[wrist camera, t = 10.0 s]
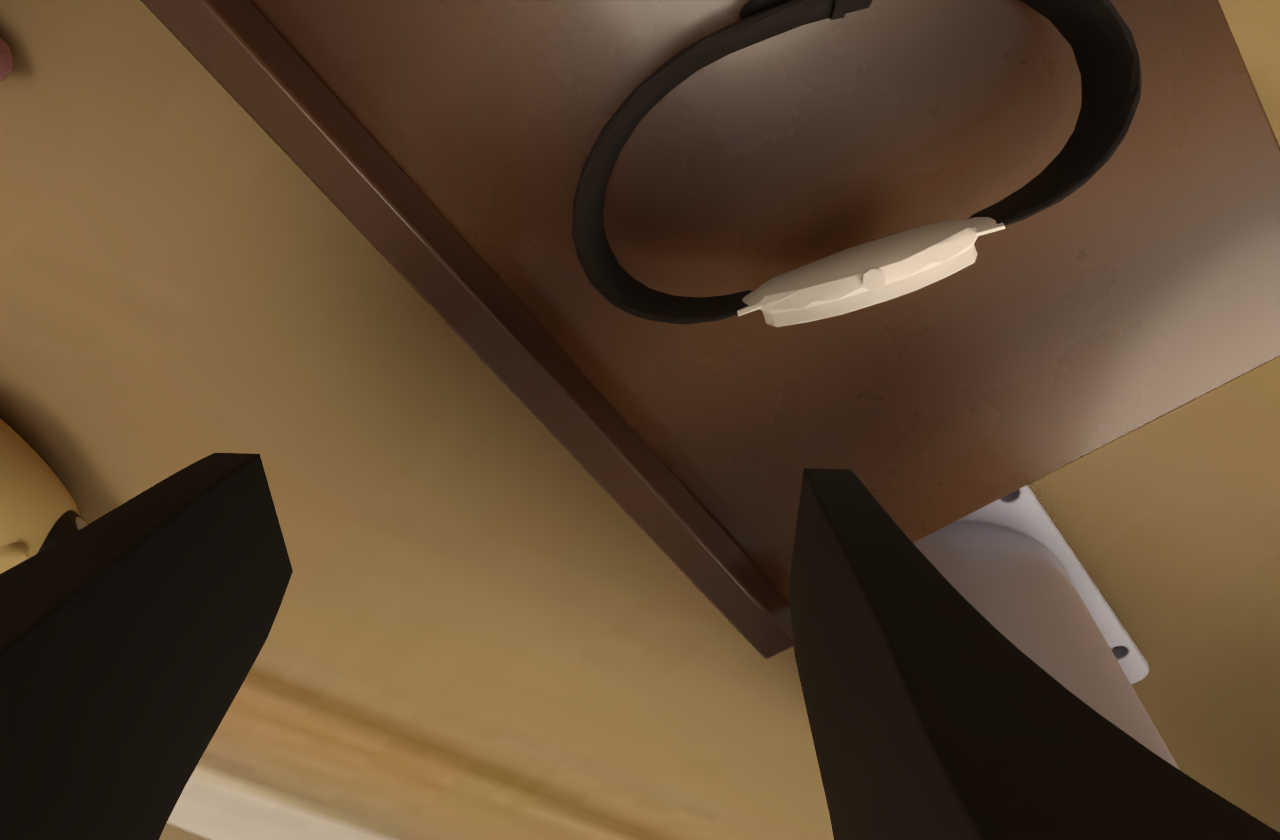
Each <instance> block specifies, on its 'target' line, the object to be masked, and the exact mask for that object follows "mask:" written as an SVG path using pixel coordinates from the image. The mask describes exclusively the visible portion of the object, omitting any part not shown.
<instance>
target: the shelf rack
mask: <svg viewBox="0 0 1280 840" xmlns="http://www.w3.org/2000/svg"><path fill="white" fill-rule="evenodd" d="M141 1H142V2H143V3H144V4H145V5H146V6H147V7H148V9H149V10H150V11H151V12H152V13H153V14H154V15H155V16H156V17H157V18H158V19H159V20H160V21H161V22H162V23H163V24H164V25H165V26H166V28H167V29H168V30H169V31H170V32H171V33H172V34H173V35H174V36H175V37H176V38H177V39H178V40H179V41H180V42H181V43H182V44H183V45H184V47H185V48H186V49H187V50H188V51H189V52H190V53H191V54H192V55H193V56H194V57H195V58H196V59H197V60H198V61H199V62H200V63H201V64H202V66H203V67H204V68H205V69H206V70H207V71H208V72H209V73H210V74H211V75H212V76H213V77H214V78H215V79H216V80H217V81H218V82H219V83H220V85H221V86H222V87H223V88H224V89H225V90H226V91H227V92H228V93H229V94H230V95H231V96H232V97H233V98H234V99H235V100H236V101H237V102H238V104H239V105H240V106H241V107H242V108H243V109H244V110H245V111H246V112H247V113H248V114H249V115H250V116H251V117H252V118H253V119H254V120H255V121H256V123H257V124H258V125H259V126H260V127H261V128H262V129H263V130H264V131H265V132H266V133H267V134H268V135H269V136H270V137H271V138H272V139H273V140H274V142H275V143H276V144H277V145H278V146H279V147H280V148H281V149H282V150H283V151H284V152H285V153H286V154H287V155H288V156H289V157H290V158H291V159H292V161H293V162H294V163H295V164H296V165H297V166H298V167H299V168H300V169H301V170H302V171H303V172H304V173H305V174H306V175H307V176H308V177H309V178H310V180H311V181H312V182H313V183H314V184H315V185H316V186H317V187H318V188H319V189H320V190H321V191H322V192H323V193H324V194H325V195H326V196H327V197H328V198H329V200H330V201H331V202H332V203H333V204H334V205H335V206H336V207H337V208H338V209H339V210H340V211H341V212H342V213H343V214H344V215H345V216H346V217H347V219H348V220H349V221H350V222H351V223H352V224H353V225H354V226H355V227H356V228H357V229H358V230H359V231H360V232H361V233H362V234H363V235H364V236H365V238H366V239H367V240H368V241H369V242H370V243H371V244H372V245H373V246H374V247H375V248H376V249H377V250H378V251H379V252H380V253H381V254H382V255H383V257H384V258H385V259H386V260H387V261H388V262H389V263H390V264H391V265H392V266H393V267H394V268H395V269H396V270H397V271H398V272H399V273H400V274H401V276H402V277H403V278H404V279H405V280H406V281H407V282H408V283H409V284H410V285H411V286H412V287H413V288H414V289H415V290H416V291H417V292H418V293H419V295H420V296H421V297H422V298H423V299H424V300H425V301H426V302H427V303H428V304H429V305H430V306H431V307H432V308H433V309H434V310H435V311H436V312H437V314H438V315H439V316H440V317H441V318H442V319H443V320H444V321H445V322H446V323H447V324H448V325H449V326H450V327H451V328H452V329H453V330H454V331H455V333H456V334H457V335H458V336H459V337H460V338H461V339H462V340H463V341H464V342H465V343H466V344H467V345H468V346H469V347H470V348H471V349H472V350H473V352H474V353H475V354H476V355H477V356H478V357H479V358H480V359H481V360H482V361H483V362H484V363H485V364H486V365H487V366H488V367H489V368H490V369H491V371H492V372H493V373H494V374H495V375H496V376H497V377H498V378H499V379H500V380H501V381H502V382H503V383H504V384H505V385H506V386H507V387H508V388H509V390H510V391H511V392H512V393H513V394H514V395H515V396H516V397H517V398H518V399H519V400H520V401H521V402H522V403H523V404H524V405H525V406H526V407H527V408H528V410H529V411H530V412H531V413H532V414H533V415H534V416H535V417H536V418H537V419H538V420H539V421H540V422H541V423H542V424H543V425H544V426H545V427H546V429H547V430H548V431H549V432H550V433H551V434H552V435H553V436H554V437H555V438H556V439H557V440H558V441H559V442H560V443H561V444H562V445H563V446H564V448H565V449H566V450H567V451H568V452H569V453H570V454H571V455H572V456H573V457H574V458H575V459H576V460H577V461H578V462H579V463H580V464H581V465H582V467H583V468H584V469H585V470H586V471H587V472H588V473H589V474H590V475H591V476H592V477H593V478H594V479H595V480H596V481H597V482H598V483H599V484H600V486H601V487H602V488H603V489H604V490H605V491H606V492H607V493H608V494H609V495H610V496H611V497H612V498H613V499H614V500H615V501H616V502H617V503H618V505H619V506H620V507H621V508H622V509H623V510H624V511H625V512H626V513H627V514H628V515H629V516H630V517H631V518H632V519H633V520H634V521H635V522H636V524H637V525H638V526H639V527H640V528H641V529H642V530H643V531H644V532H645V533H646V534H647V535H648V536H649V537H650V538H651V539H652V540H653V541H654V543H655V544H656V545H657V546H658V547H659V548H660V549H661V550H662V551H663V552H664V553H665V554H666V555H667V556H668V557H669V558H670V559H671V560H672V562H673V563H674V564H675V565H676V566H677V567H678V568H679V569H680V570H681V571H682V572H683V573H684V574H685V575H686V576H687V577H688V578H689V579H690V581H691V582H692V583H693V584H694V585H695V586H696V587H697V588H698V589H699V590H700V591H701V592H702V593H703V594H704V595H705V596H706V597H707V598H708V600H709V601H710V602H711V603H712V604H713V605H714V606H715V607H716V608H717V609H718V610H719V611H720V612H721V613H722V614H723V615H724V616H725V617H726V618H727V620H728V621H729V622H730V623H731V624H732V625H733V626H734V627H735V628H736V629H737V630H738V631H739V632H740V633H741V634H742V635H743V636H744V637H745V639H746V640H747V641H748V642H749V643H750V644H751V645H752V646H753V647H754V648H755V649H756V650H757V651H758V652H759V653H760V654H761V655H762V656H763V658H765V659H769V658H771V657H773V656H775V655H777V654H779V653H781V652H783V651H785V650H787V649H789V648H791V647H793V646H794V641H793V631H792V621H791V610H790V598H789V587H788V586H789V578H790V570H791V563H792V555H793V547H794V539H795V532H796V524H797V516H798V508H799V501H800V493H801V485H802V477H803V470H804V468H816V469H851V470H852V471H853V472H854V473H855V474H856V476H857V477H858V478H859V479H860V480H861V481H862V483H863V484H864V485H865V486H866V487H867V489H868V490H869V491H870V492H871V493H872V495H873V496H874V497H875V498H876V500H877V501H878V502H879V503H880V504H881V506H882V507H883V508H884V509H885V510H886V512H887V513H888V514H889V515H890V516H891V518H892V519H893V520H894V521H895V522H896V524H897V525H898V526H899V527H900V528H901V529H902V531H903V532H904V533H905V534H906V535H907V536H908V538H909V539H910V540H911V541H912V542H913V543H914V542H916V541H918V540H920V539H922V538H924V537H926V536H928V535H930V534H932V533H934V532H936V531H938V530H940V529H942V528H944V527H945V526H947V525H949V524H951V523H953V522H955V521H957V520H959V519H961V518H963V517H965V516H967V515H969V514H971V513H973V512H975V511H977V510H979V509H981V508H983V507H985V506H987V505H989V504H991V503H993V502H995V501H996V500H998V499H1000V498H1002V497H1004V496H1006V495H1008V494H1010V493H1012V492H1014V491H1016V490H1018V489H1020V488H1022V487H1024V486H1026V485H1028V484H1030V483H1032V482H1034V481H1036V480H1038V479H1040V478H1042V477H1044V476H1046V475H1047V474H1049V473H1051V472H1053V471H1055V470H1057V469H1059V468H1061V467H1063V466H1065V465H1067V464H1069V463H1071V462H1073V461H1075V460H1077V459H1079V458H1081V457H1083V456H1085V455H1087V454H1089V453H1091V452H1093V451H1095V450H1096V449H1098V448H1100V447H1102V446H1104V445H1106V444H1108V443H1110V442H1112V441H1114V440H1116V439H1118V438H1120V437H1122V436H1124V435H1126V434H1128V433H1130V432H1132V431H1134V430H1136V429H1138V428H1140V427H1142V426H1144V425H1146V424H1147V423H1149V422H1151V421H1153V420H1155V419H1157V418H1159V417H1161V416H1163V415H1165V414H1167V413H1169V412H1171V411H1173V410H1175V409H1177V408H1179V407H1181V406H1183V405H1185V404H1187V403H1189V402H1191V401H1193V400H1195V399H1197V398H1198V397H1200V396H1202V395H1204V394H1206V393H1208V392H1210V391H1212V390H1214V389H1216V388H1218V387H1220V386H1222V385H1224V384H1226V383H1228V382H1230V381H1232V380H1234V379H1236V378H1238V377H1240V376H1242V375H1244V374H1246V373H1248V372H1249V371H1251V370H1253V369H1255V368H1257V367H1259V366H1261V365H1263V364H1265V363H1267V362H1269V361H1271V360H1273V359H1275V358H1277V357H1279V356H1280V147H1279V144H1278V142H1277V139H1276V137H1275V135H1274V132H1273V130H1272V128H1271V125H1270V123H1269V120H1268V118H1267V116H1266V113H1265V111H1264V109H1263V106H1262V104H1261V101H1260V99H1259V97H1258V94H1257V92H1256V89H1255V87H1254V85H1253V82H1252V80H1251V78H1250V75H1249V73H1248V70H1247V68H1246V66H1245V63H1244V61H1243V59H1242V56H1241V54H1240V51H1239V49H1238V47H1237V44H1236V42H1235V40H1234V37H1233V35H1232V32H1231V30H1230V28H1229V25H1228V23H1227V21H1226V18H1225V16H1224V13H1223V11H1222V9H1221V6H1220V4H1219V2H1218V0H1109V1H1110V2H1111V3H1112V4H1113V5H1114V7H1115V8H1116V10H1117V11H1118V13H1119V14H1120V16H1121V17H1122V19H1123V20H1124V22H1125V23H1126V24H1127V26H1128V27H1129V29H1130V30H1131V32H1132V35H1133V38H1134V41H1135V44H1136V48H1137V51H1138V54H1139V59H1140V67H1141V76H1142V85H1141V98H1140V101H1139V104H1138V107H1137V110H1136V112H1135V115H1134V118H1133V120H1132V123H1131V125H1130V127H1129V130H1128V132H1127V134H1126V136H1125V138H1124V139H1123V141H1122V143H1121V144H1120V145H1119V147H1118V148H1117V150H1116V151H1115V152H1114V154H1113V155H1112V157H1111V158H1110V159H1109V161H1108V162H1107V163H1106V164H1105V165H1104V166H1103V167H1102V168H1101V169H1099V170H1098V171H1097V172H1096V173H1095V174H1094V175H1093V176H1092V177H1091V178H1090V179H1089V180H1088V181H1087V182H1086V183H1085V184H1084V185H1083V186H1081V187H1080V188H1079V189H1077V190H1076V191H1074V192H1073V193H1072V194H1070V195H1069V196H1067V197H1066V198H1065V199H1063V200H1062V201H1060V202H1059V203H1057V204H1055V205H1053V206H1051V207H1049V208H1046V209H1044V210H1042V211H1040V212H1038V213H1036V214H1034V215H1032V216H1030V217H1028V218H1026V219H1024V220H1021V221H1019V222H1016V223H1013V224H1011V225H1008V226H1005V228H1006V229H1003V230H999V231H996V232H992V233H988V234H985V235H981V236H978V238H977V239H976V241H975V243H974V246H975V249H976V251H977V254H978V255H977V257H976V260H975V263H973V264H971V265H969V266H967V267H965V268H964V269H962V270H960V271H958V272H956V273H954V274H952V275H950V276H948V277H946V278H944V279H941V280H939V281H937V282H935V283H932V284H930V285H928V286H925V287H923V288H921V289H918V290H916V291H914V292H911V293H908V294H905V295H902V296H899V297H897V298H894V299H891V300H888V301H885V302H882V303H878V304H875V305H872V306H868V307H865V308H862V309H859V310H855V311H852V312H849V313H846V314H842V315H838V316H834V317H829V318H825V319H820V320H815V321H811V322H806V323H800V324H794V325H788V326H782V327H775V326H772V325H769V324H766V321H765V318H764V315H763V312H762V311H761V310H759V309H758V310H755V311H753V312H750V313H747V314H744V315H741V316H738V315H736V316H732V317H729V318H726V319H722V320H719V321H714V322H704V323H694V324H684V325H681V324H673V323H665V322H656V321H651V320H647V319H643V318H640V317H636V316H633V315H631V314H629V313H627V312H625V311H623V310H621V309H620V308H618V307H616V306H614V305H612V304H611V303H610V302H609V301H608V300H607V299H605V298H604V297H603V296H602V295H601V294H600V293H599V292H598V291H597V290H596V289H595V288H594V287H593V286H592V284H591V283H590V282H589V280H588V278H587V276H586V274H585V273H584V271H583V269H582V267H581V265H580V263H579V261H578V257H577V253H576V249H575V245H574V241H573V237H572V218H573V199H574V196H575V193H576V189H577V186H578V182H579V179H580V175H581V172H582V168H583V165H584V163H585V161H586V159H587V157H588V155H589V153H590V152H591V150H592V148H593V146H594V144H595V142H596V140H597V138H598V137H599V135H600V133H601V131H602V129H603V127H604V126H605V125H606V124H607V122H608V121H609V120H610V119H611V117H612V116H613V115H614V114H615V112H616V111H617V110H618V109H619V108H620V106H621V105H622V104H623V103H624V101H625V100H626V99H627V98H628V96H629V95H630V94H631V93H632V91H633V90H635V89H636V88H637V87H638V86H639V85H640V84H641V83H643V82H644V81H645V80H646V79H647V78H648V77H650V76H651V75H652V74H653V73H654V72H655V71H656V70H658V69H659V68H660V67H661V66H662V65H663V64H665V63H666V62H667V61H668V60H669V59H670V58H672V57H673V56H674V55H676V54H677V53H679V52H681V51H682V50H684V49H686V48H687V47H689V46H691V45H692V44H694V43H696V42H697V41H699V40H700V39H702V38H704V37H706V36H708V35H710V34H712V33H714V32H716V31H718V30H720V29H722V28H724V27H726V26H729V25H731V24H733V23H735V22H737V21H739V20H741V18H740V16H739V13H740V11H741V10H742V8H743V6H744V4H745V3H747V2H749V1H750V0H141ZM1081 102H1082V91H1081V74H1080V71H1079V68H1078V65H1077V62H1076V59H1075V56H1074V53H1073V50H1072V47H1071V45H1070V44H1069V43H1068V42H1067V40H1066V39H1065V38H1064V37H1063V36H1062V34H1061V33H1060V32H1059V31H1058V30H1057V29H1056V27H1055V26H1054V25H1053V24H1052V23H1051V21H1050V20H1048V19H1047V18H1045V17H1044V16H1042V15H1041V14H1040V13H1038V12H1037V11H1035V10H1034V9H1032V8H1031V7H1029V6H1028V5H1026V4H1025V3H1023V2H1021V1H1019V0H872V2H871V4H870V6H869V8H865V9H861V10H858V11H854V12H850V13H847V14H845V16H844V18H840V19H834V20H831V19H830V18H828V19H824V20H820V21H817V22H813V23H809V24H805V25H802V26H799V27H797V28H794V29H792V30H789V31H787V32H784V33H782V34H779V35H776V36H774V37H771V38H769V39H766V40H764V41H761V42H759V43H756V44H754V45H751V46H748V47H746V48H743V49H741V50H738V51H736V52H733V53H731V54H729V55H727V56H725V57H723V58H721V59H719V60H717V61H715V62H713V63H711V64H709V65H708V66H706V67H704V68H702V69H700V70H698V71H696V72H695V73H694V74H692V75H691V76H690V77H688V78H687V79H686V80H684V81H683V82H682V83H680V84H679V85H678V86H676V87H675V88H674V89H673V90H671V91H670V92H669V93H668V94H667V95H666V96H665V97H664V98H662V99H661V100H660V101H659V102H658V103H657V104H656V105H655V106H654V107H653V108H652V109H651V110H650V111H649V112H648V113H647V114H646V115H645V117H644V118H643V119H642V120H641V121H640V122H639V124H638V125H637V127H636V128H635V130H634V131H633V133H632V134H631V136H630V137H629V139H628V140H627V142H626V143H625V145H624V146H623V148H622V150H621V151H620V153H619V156H618V158H617V161H616V163H615V166H614V168H613V171H612V173H611V176H610V178H609V181H608V184H607V191H606V197H605V203H604V210H603V215H604V228H605V233H606V237H607V240H608V242H609V245H610V247H611V250H612V252H613V254H614V255H615V257H616V259H617V261H618V262H619V264H620V265H621V266H622V267H623V268H624V269H625V270H626V271H627V272H628V273H629V274H630V275H631V276H632V277H633V278H634V279H636V280H637V281H639V282H641V283H642V284H644V285H645V286H647V287H649V288H650V289H653V290H657V291H660V292H664V293H667V294H670V295H674V296H686V297H711V296H723V295H728V294H733V293H738V292H742V291H747V290H750V291H752V292H754V291H755V290H756V289H757V288H759V287H760V286H761V285H762V284H763V283H765V282H767V281H769V280H770V279H772V278H774V277H777V276H779V275H782V274H784V273H787V272H789V271H792V270H795V269H797V268H800V267H802V266H805V265H807V264H810V263H812V262H815V261H817V260H820V259H822V258H825V257H827V256H830V255H833V254H835V253H838V252H840V251H843V250H845V249H848V248H851V247H854V246H858V245H861V244H864V243H867V242H871V241H874V240H877V239H881V238H884V237H887V236H891V235H894V234H897V233H901V232H904V231H907V230H911V229H915V228H919V227H923V226H927V225H931V224H936V223H940V222H944V221H957V220H968V219H969V218H970V217H971V216H972V215H973V214H975V213H977V212H979V211H981V210H983V209H985V208H987V207H989V206H991V205H993V204H996V203H998V202H999V201H1001V200H1003V199H1004V198H1006V197H1007V196H1009V195H1011V194H1012V193H1014V192H1015V191H1017V190H1019V189H1020V188H1022V187H1023V186H1025V185H1026V184H1027V183H1028V182H1030V181H1031V180H1032V179H1033V178H1035V177H1036V176H1037V175H1039V174H1040V173H1041V172H1042V171H1043V170H1044V169H1045V168H1046V167H1047V166H1048V165H1049V164H1050V163H1051V161H1052V160H1053V159H1054V158H1055V157H1056V156H1057V155H1058V154H1059V153H1060V152H1061V151H1062V149H1063V147H1064V146H1065V144H1066V143H1067V141H1068V139H1069V138H1070V136H1071V135H1072V133H1073V131H1074V129H1075V126H1076V122H1077V119H1078V116H1079V113H1080V110H1081Z"/></svg>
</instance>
